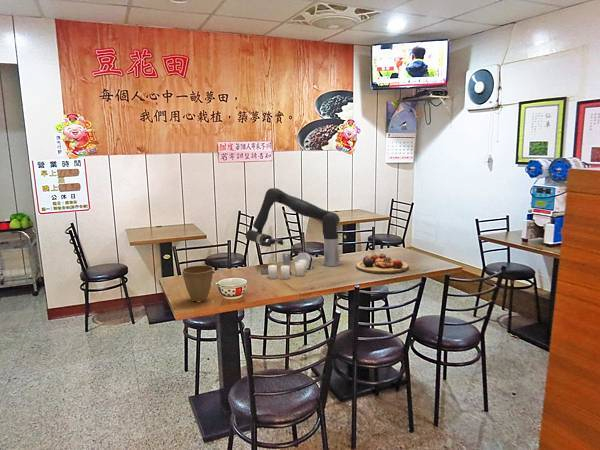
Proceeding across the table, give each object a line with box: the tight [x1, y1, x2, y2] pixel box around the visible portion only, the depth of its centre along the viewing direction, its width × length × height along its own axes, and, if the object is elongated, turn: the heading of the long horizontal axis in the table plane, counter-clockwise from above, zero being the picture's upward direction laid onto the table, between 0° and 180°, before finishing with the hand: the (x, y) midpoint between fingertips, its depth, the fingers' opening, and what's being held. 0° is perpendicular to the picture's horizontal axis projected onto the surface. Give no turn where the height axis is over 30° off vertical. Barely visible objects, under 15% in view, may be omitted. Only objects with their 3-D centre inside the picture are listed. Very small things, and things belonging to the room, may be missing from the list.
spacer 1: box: [267, 264, 278, 280], centre depth 253 cm, size 5×5×7 cm
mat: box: [260, 269, 269, 275], centre depth 265 cm, size 8×8×1 cm
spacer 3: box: [294, 263, 305, 277], centre depth 257 cm, size 5×5×7 cm
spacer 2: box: [280, 264, 291, 280], centre depth 251 cm, size 5×5×7 cm
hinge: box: [292, 252, 315, 270], centre depth 276 cm, size 17×5×10 cm, turn 27°
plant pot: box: [181, 265, 214, 302], centre depth 216 cm, size 15×15×16 cm
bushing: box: [282, 253, 292, 276], centre depth 259 cm, size 5×5×12 cm
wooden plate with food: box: [355, 253, 409, 275], centre depth 269 cm, size 32×32×8 cm
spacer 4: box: [298, 260, 308, 274], centre depth 264 cm, size 5×5×7 cm
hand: (276, 244), depth 267 cm, fingers open, 8 cm apart
